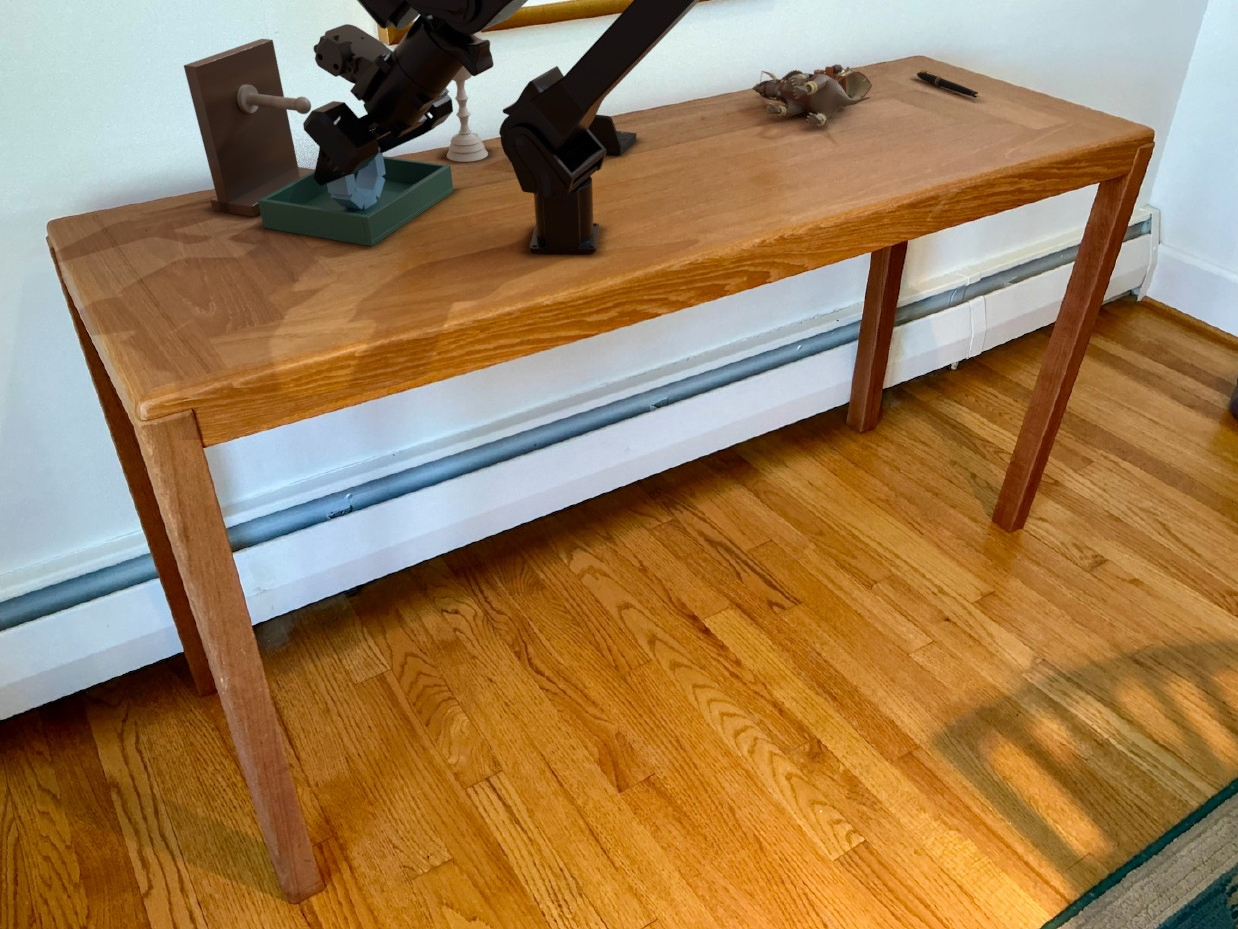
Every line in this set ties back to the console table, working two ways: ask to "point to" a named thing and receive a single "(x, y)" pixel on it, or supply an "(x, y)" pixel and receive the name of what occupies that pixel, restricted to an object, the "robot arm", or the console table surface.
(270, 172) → the hook rack
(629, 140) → the bookend
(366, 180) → the blue segmented ring
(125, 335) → the console table surface
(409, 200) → the tray
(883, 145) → the console table surface
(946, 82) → the fountain pen
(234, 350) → the console table surface
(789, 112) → the figurine
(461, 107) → the chalice
